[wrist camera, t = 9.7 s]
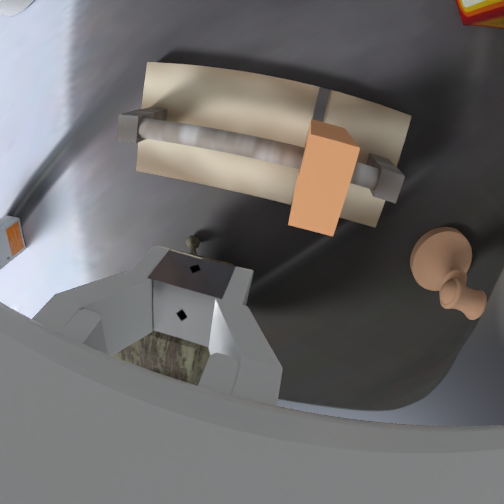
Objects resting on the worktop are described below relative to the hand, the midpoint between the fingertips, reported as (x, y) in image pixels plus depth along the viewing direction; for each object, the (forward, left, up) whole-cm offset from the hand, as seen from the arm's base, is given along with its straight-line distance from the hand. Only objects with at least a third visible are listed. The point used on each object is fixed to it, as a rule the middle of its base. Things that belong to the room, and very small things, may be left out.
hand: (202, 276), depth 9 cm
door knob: (+8, +22, -25) cm, 34 cm away
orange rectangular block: (0, +4, -21) cm, 21 cm away
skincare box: (+21, -40, -25) cm, 52 cm away
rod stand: (0, -1, -25) cm, 25 cm away
